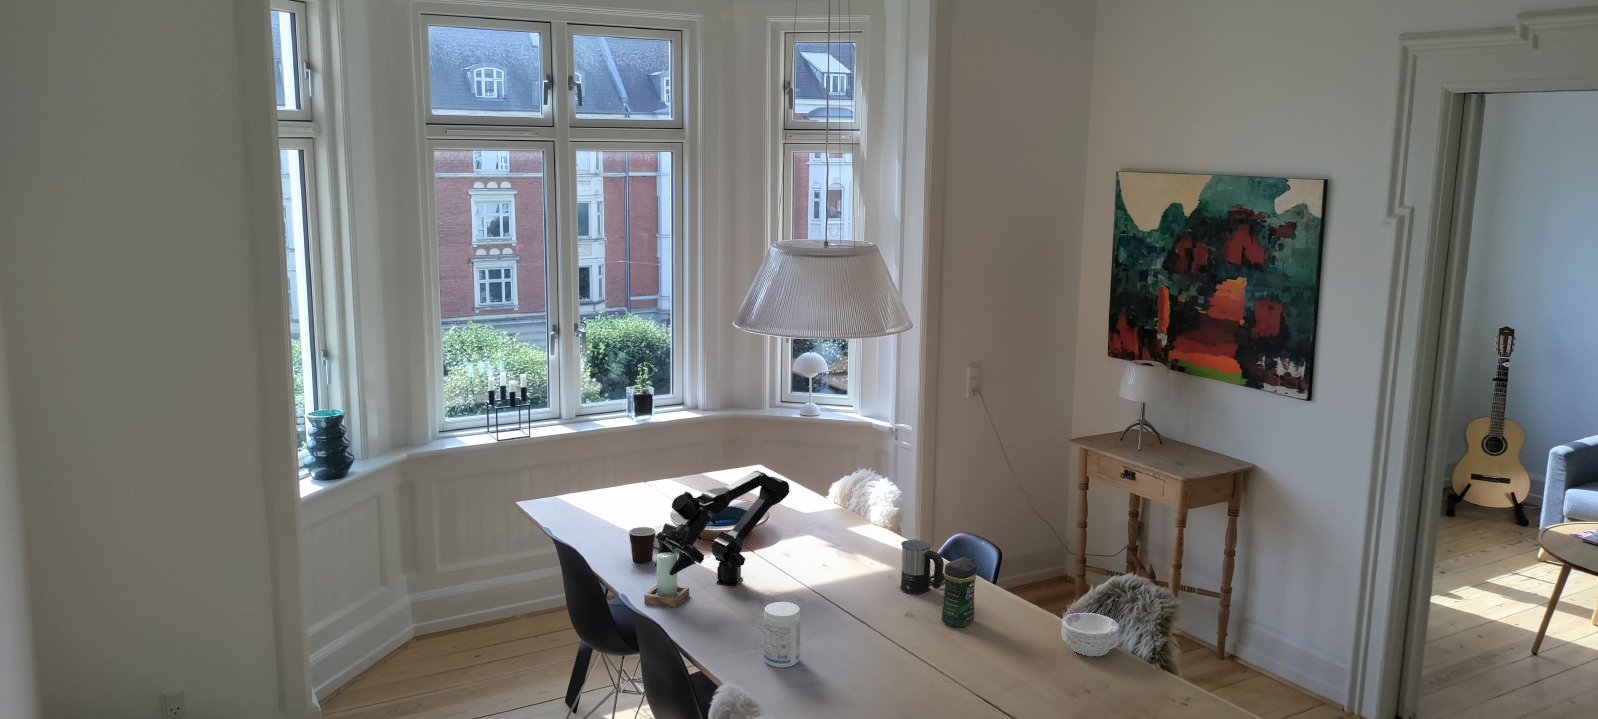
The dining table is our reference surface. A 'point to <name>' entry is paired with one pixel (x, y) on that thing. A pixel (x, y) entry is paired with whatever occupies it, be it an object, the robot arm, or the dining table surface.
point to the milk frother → (920, 567)
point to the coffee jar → (959, 592)
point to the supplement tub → (781, 634)
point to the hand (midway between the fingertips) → (663, 570)
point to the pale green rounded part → (666, 575)
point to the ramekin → (657, 529)
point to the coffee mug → (642, 544)
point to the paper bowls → (1090, 633)
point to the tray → (672, 602)
